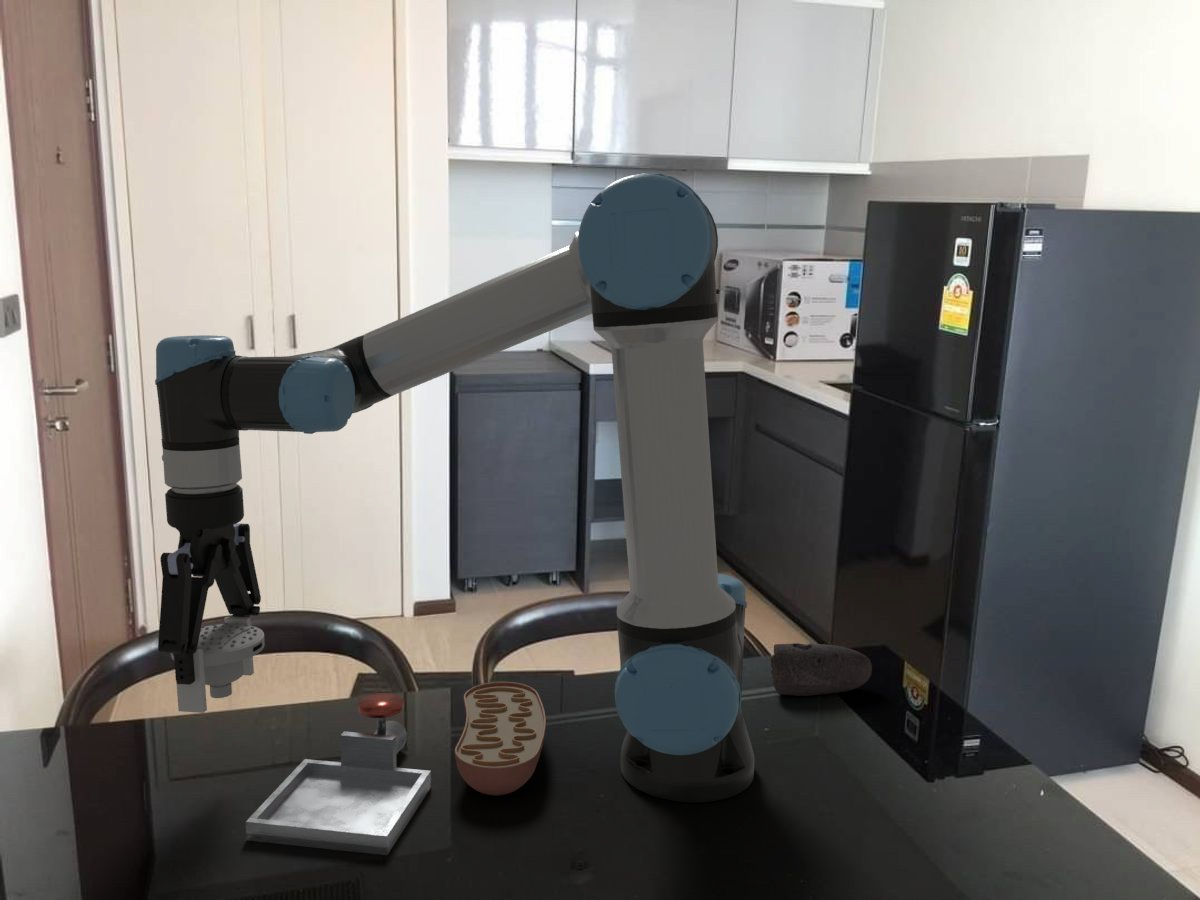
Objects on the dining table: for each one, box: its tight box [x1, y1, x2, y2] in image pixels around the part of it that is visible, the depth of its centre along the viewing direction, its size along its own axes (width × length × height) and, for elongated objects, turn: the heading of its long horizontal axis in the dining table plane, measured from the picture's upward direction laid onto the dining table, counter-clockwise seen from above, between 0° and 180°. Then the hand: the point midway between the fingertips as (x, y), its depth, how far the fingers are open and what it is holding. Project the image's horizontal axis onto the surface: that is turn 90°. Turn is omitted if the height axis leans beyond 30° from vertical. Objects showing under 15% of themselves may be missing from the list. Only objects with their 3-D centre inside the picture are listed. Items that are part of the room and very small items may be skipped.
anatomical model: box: [454, 681, 547, 796], centre depth 120 cm, size 23×10×5 cm, turn 3°
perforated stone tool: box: [770, 642, 873, 697], centre depth 141 cm, size 15×5×7 cm, turn 98°
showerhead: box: [170, 622, 265, 699], centre depth 111 cm, size 9×7×10 cm
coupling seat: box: [245, 692, 432, 856], centre depth 111 cm, size 22×14×7 cm
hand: (217, 691), depth 111 cm, fingers closed on showerhead, 9 cm apart
